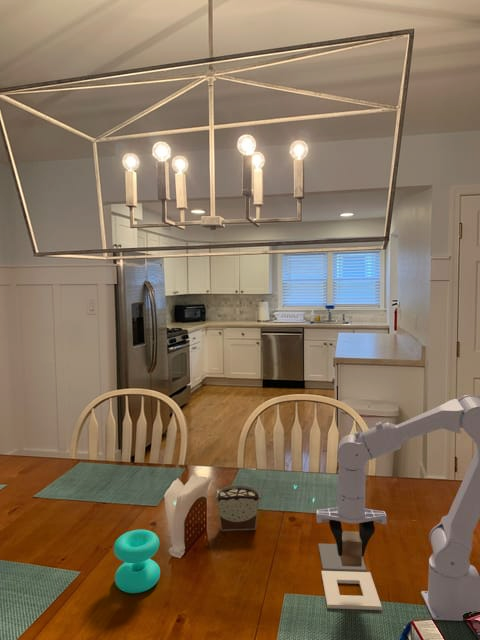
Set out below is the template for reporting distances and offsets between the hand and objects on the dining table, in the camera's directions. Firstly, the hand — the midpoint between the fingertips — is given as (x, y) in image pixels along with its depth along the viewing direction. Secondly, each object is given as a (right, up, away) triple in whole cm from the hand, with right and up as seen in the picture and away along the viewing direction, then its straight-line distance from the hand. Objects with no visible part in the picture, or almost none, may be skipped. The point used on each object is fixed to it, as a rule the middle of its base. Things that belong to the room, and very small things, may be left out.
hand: (350, 553), depth 100 cm
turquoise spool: (-47, -9, +5) cm, 48 cm away
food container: (-24, -6, +28) cm, 38 cm away
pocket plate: (0, -9, +1) cm, 9 cm away
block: (0, -2, 0) cm, 2 cm away
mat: (+1, -7, +13) cm, 15 cm away
